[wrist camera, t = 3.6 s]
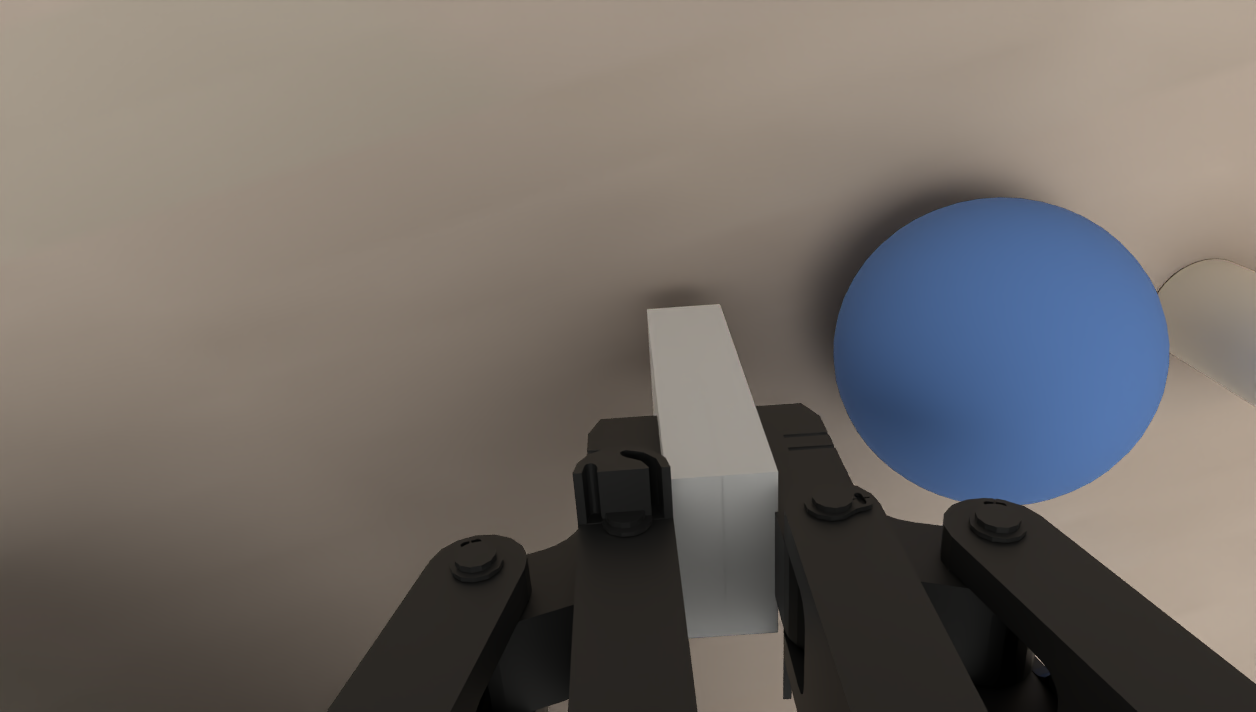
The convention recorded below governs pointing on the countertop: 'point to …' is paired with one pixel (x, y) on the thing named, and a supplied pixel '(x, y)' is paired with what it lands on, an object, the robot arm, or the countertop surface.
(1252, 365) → the pin
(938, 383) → the ball
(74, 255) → the countertop surface
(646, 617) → the robot arm
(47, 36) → the countertop surface
